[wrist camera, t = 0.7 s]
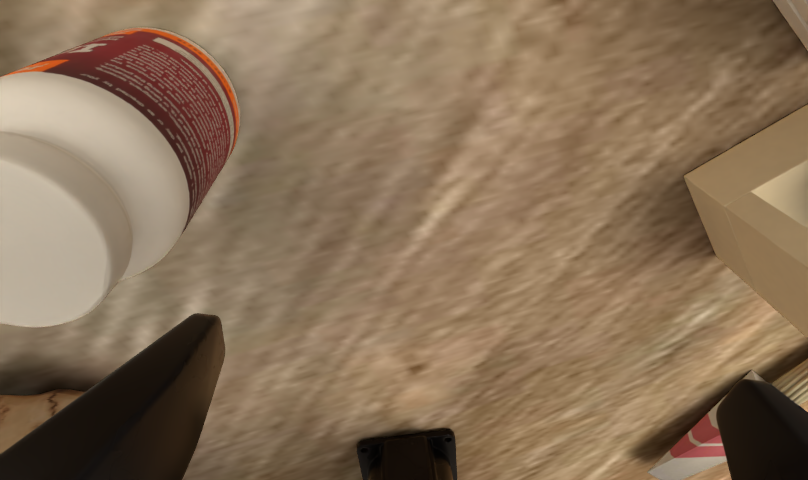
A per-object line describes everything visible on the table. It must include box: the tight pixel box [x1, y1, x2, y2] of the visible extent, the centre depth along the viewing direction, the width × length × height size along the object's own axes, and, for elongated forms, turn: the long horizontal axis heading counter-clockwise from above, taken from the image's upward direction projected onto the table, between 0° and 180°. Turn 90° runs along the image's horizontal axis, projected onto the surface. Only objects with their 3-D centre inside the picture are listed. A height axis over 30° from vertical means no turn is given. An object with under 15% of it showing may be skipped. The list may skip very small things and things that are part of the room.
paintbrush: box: [647, 359, 808, 480], centre depth 31 cm, size 4×3×20 cm
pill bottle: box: [0, 27, 240, 327], centre depth 16 cm, size 6×6×11 cm
